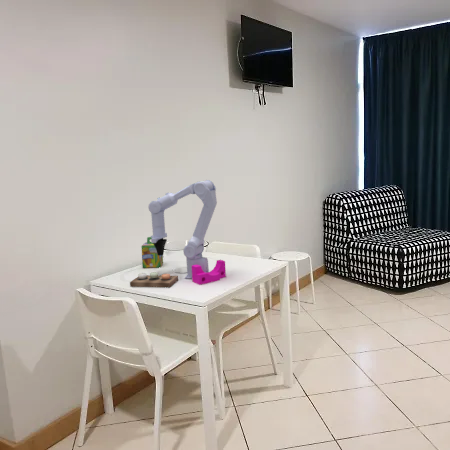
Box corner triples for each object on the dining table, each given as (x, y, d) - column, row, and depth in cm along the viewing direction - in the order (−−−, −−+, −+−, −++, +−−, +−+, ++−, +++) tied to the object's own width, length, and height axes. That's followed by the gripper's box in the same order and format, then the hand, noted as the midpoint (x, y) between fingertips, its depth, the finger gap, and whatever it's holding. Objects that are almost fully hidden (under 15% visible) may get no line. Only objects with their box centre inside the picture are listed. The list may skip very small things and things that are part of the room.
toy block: (199, 285, 188) (198, 268, 187) (192, 282, 193) (191, 265, 192) (228, 278, 196) (228, 262, 195) (221, 275, 201) (220, 259, 200)
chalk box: (142, 268, 221) (140, 239, 219) (146, 264, 230) (143, 236, 228) (160, 267, 221) (158, 238, 218) (163, 263, 230) (161, 235, 228)
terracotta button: (171, 277, 193) (171, 273, 193) (168, 279, 190) (168, 275, 190) (163, 277, 194) (163, 273, 194) (160, 279, 191) (160, 275, 190)
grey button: (148, 276, 196) (147, 273, 196) (144, 279, 192) (144, 275, 192) (140, 276, 197) (140, 273, 196) (137, 278, 193) (136, 275, 193)
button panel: (178, 280, 197) (178, 275, 196) (169, 287, 186) (169, 282, 186) (140, 279, 201) (140, 274, 201) (130, 286, 190) (129, 281, 190)
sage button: (159, 275, 194) (159, 272, 194) (156, 277, 191) (156, 274, 191) (151, 275, 195) (151, 272, 195) (148, 277, 192) (148, 274, 192)
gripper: (156, 223, 212) (158, 251, 214) (144, 229, 198) (146, 258, 200) (170, 223, 210) (172, 251, 212) (158, 228, 196) (161, 258, 198)
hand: (160, 255), depth 206 cm, fingers closed
